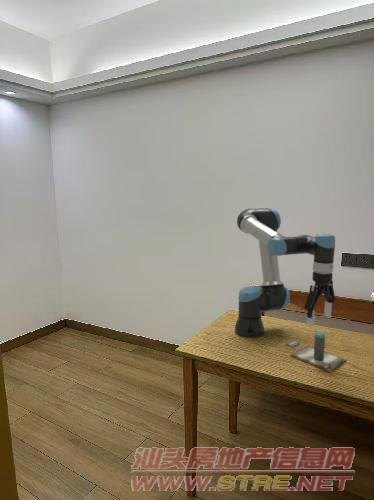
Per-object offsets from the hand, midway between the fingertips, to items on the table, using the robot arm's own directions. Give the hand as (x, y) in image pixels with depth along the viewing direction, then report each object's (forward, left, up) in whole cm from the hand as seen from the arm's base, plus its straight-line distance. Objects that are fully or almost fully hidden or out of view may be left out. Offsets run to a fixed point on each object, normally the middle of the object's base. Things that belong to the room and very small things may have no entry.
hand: (318, 320), depth 140 cm
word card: (-15, +5, -18) cm, 24 cm away
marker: (+2, -2, -17) cm, 17 cm away
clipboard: (0, +1, -18) cm, 18 cm away
